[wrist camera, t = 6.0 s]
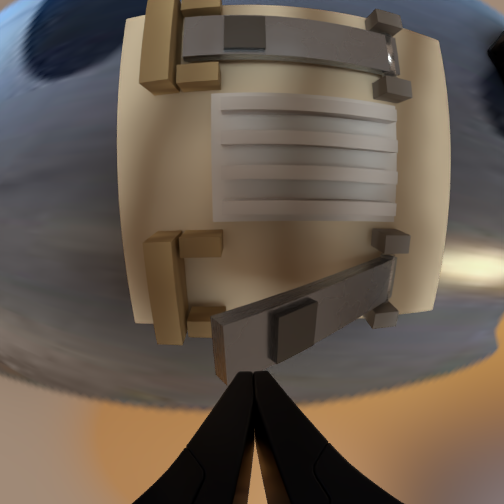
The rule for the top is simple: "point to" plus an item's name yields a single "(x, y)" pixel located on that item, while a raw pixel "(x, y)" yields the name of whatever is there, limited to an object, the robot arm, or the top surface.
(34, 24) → the top surface
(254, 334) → the strap
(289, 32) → the strap
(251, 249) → the heatsink board
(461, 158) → the top surface
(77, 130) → the top surface
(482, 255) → the top surface
